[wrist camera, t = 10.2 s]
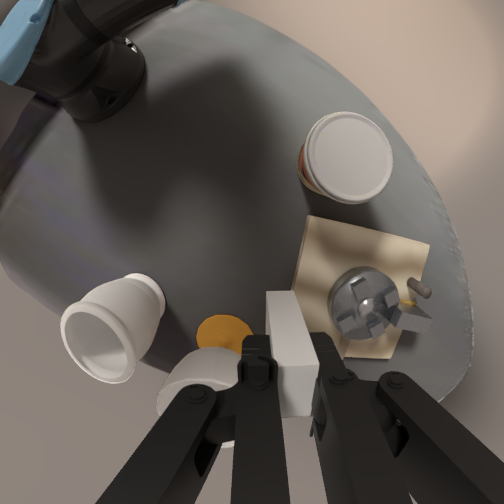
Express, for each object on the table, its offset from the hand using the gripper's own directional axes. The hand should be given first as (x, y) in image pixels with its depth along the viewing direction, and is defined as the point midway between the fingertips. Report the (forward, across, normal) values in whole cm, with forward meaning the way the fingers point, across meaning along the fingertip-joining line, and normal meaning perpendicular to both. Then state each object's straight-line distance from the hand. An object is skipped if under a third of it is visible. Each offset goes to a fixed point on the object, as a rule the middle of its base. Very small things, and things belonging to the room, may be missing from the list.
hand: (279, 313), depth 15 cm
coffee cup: (+23, +8, +10) cm, 26 cm away
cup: (+23, -6, -16) cm, 28 cm away
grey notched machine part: (+20, +17, -10) cm, 28 cm away
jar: (+23, -19, -10) cm, 31 cm away
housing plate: (+22, +14, -9) cm, 28 cm away
